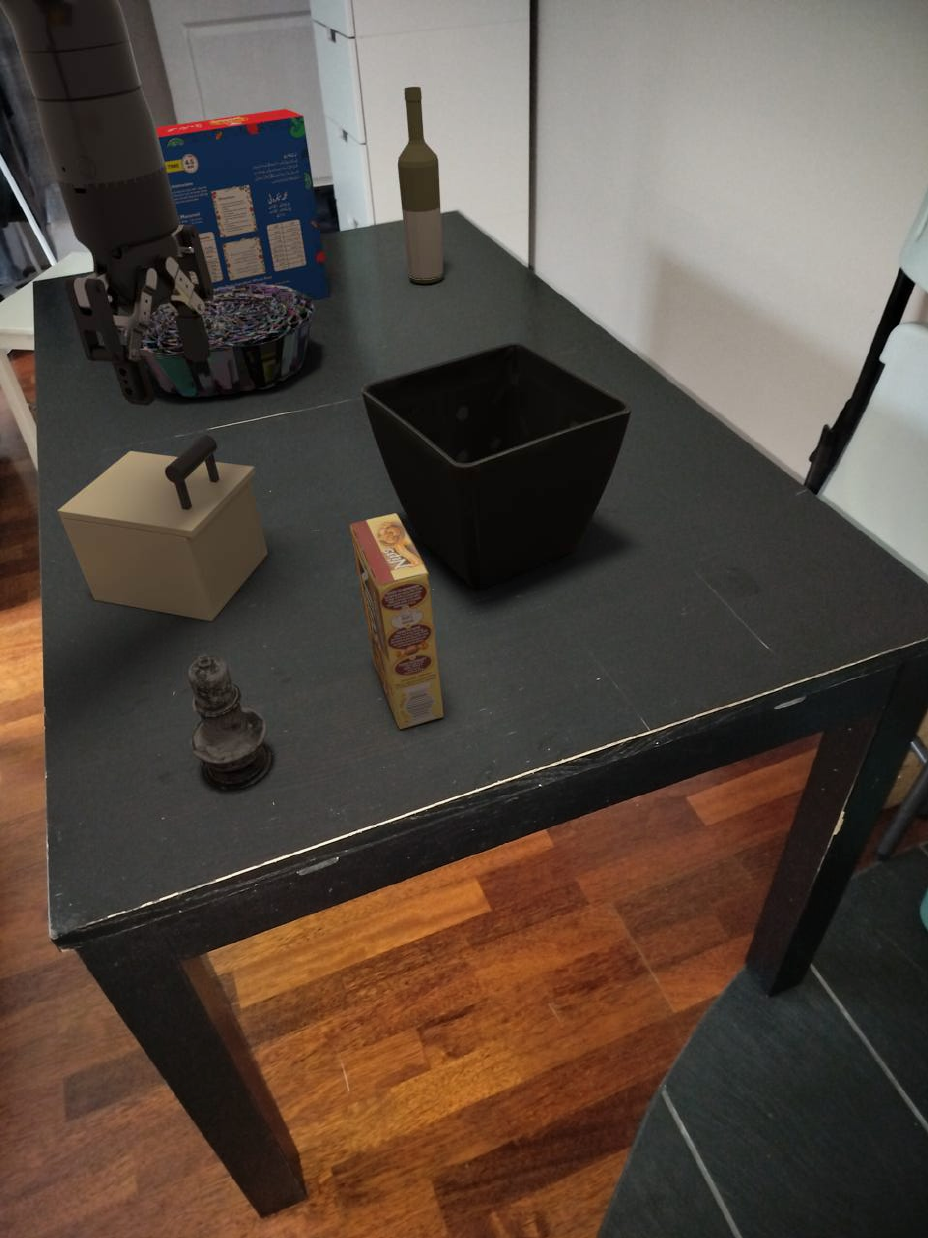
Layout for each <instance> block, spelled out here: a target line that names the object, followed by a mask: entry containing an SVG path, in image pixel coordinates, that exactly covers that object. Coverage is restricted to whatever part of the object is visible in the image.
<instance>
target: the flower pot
mask: <svg viewBox="0 0 928 1238" xmlns="http://www.w3.org/2000/svg"><path fill="white" fill-rule="evenodd" d="M360 389H361V394H362V399H363V402H364V403H363V404H364V406H365V410H366V414H367V418H368V420H369V423H370V427H371V430H372V434H373V437H374V440H375V442H376V445H377V449H378V451H379V454H380V456H381V460H382V462H383V465H384V467H385V470H386V472H387V475H388V477H389V480H390V483H391V484H392V487H393V489H394V491H395V494H396V495H397V498H398V500H399V502H400V504H401V506H402V509H403V511H404V513H405V514H406V517H407V519H408V521H409V523H410V525H411V526H412V528H413V530H414V532H415V534H416V535H417V536H418V538H419V539H421V540H422V541H423V542H424V543H425V544H426V546H428V547H429V548H430V549H431V550H432V551H433V552H434V553H435V554H436V555H437V556H438V557H439V558H441V560H443V561H444V562H445V564H447V565H448V566H449V568H451V569H452V570H453V571H454V572H455V573H456V575H458V576H459V577H460V578H461V579H462V580H463V581H464V582H465V583H466V584H468V586H469V587H471V588H473V589H485V588H487V587H489V586H492V585H495V584H497V583H499V582H501V581H504V580H506V579H509V578H511V577H514V576H516V575H519V574H521V573H524V572H526V571H529V570H531V569H534V568H535V567H538V566H541V565H543V564H545V563H548V562H550V561H553V560H555V559H558V558H560V557H562V556H564V555H567V554H570V553H571V552H573V551H574V550H575V549H576V547H577V546H578V544H579V542H580V540H581V539H582V537H583V536H584V534H585V532H586V530H587V528H588V526H589V524H590V522H591V520H592V518H593V516H594V514H595V512H596V510H597V508H598V506H599V504H600V502H601V500H602V497H603V495H604V493H605V491H606V489H607V486H608V484H609V482H610V479H611V476H612V473H613V471H614V469H615V466H616V463H617V460H618V457H619V454H620V451H621V448H622V445H623V441H624V438H625V435H626V432H627V428H628V425H629V421H630V418H631V414H632V411H633V410H632V409H633V406H632V404H630V403H629V402H628V401H626V400H624V399H622V398H620V397H619V396H617V395H616V394H614V393H612V392H610V391H608V390H606V389H604V388H603V387H601V386H599V385H598V384H596V383H594V382H592V381H590V380H589V379H587V378H585V377H584V376H581V375H580V374H578V373H576V372H575V371H572V370H571V369H569V368H567V367H566V366H564V365H562V364H560V363H559V362H557V361H555V360H553V359H552V358H550V357H548V356H547V355H544V353H541V352H539V351H538V350H536V349H534V348H532V347H530V346H529V345H527V344H525V343H523V342H518V341H514V342H513V341H512V342H507V343H504V344H499V345H497V346H494V347H490V348H487V349H483V350H479V351H476V352H473V353H470V354H466V355H463V356H459V357H456V358H452V359H449V360H446V361H442V362H439V363H435V364H431V365H428V366H424V367H421V368H417V369H414V370H410V371H407V372H403V373H401V374H397V375H394V376H390V377H387V378H383V379H380V380H377V381H373V382H369V383H366V384H364V385H363V386H362V387H361V388H360Z"/></svg>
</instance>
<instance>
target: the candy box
mask: <svg viewBox="0 0 928 1238" xmlns="http://www.w3.org/2000/svg"><path fill="white" fill-rule="evenodd" d="M349 529H350V534H351V535H350V536H351V541H352V542H351V543H352V547H353V552H354V559H355V563H356V569H357V574H358V582H359V586H360V592H361V598H362V604H363V609H364V616H365V621H366V626H367V631H368V636H369V642H370V647H371V654H372V659H373V665H374V667H375V670H376V673H377V675H378V678H379V681H380V684H381V686H382V689H383V693H384V694H385V697H386V699H387V702H388V705H389V707H390V711H391V712H392V714H393V718H394V719H395V722H396V725H397V727H398V729H399V730H404V729H407V728H411V727H414V726H417V725H421V724H424V723H427V722H431V721H434V720H438V719H441V718H444V707H443V706H444V705H443V698H442V697H443V695H442V688H441V679H440V670H439V669H440V668H439V660H438V658H439V657H438V651H437V650H438V649H437V641H436V631H435V630H436V629H435V622H434V621H435V620H434V613H433V603H432V592H431V585H430V584H431V583H430V573H429V571H428V569H427V566H426V565H425V562H424V561H423V559H422V557H421V555H420V553H419V551H418V550H417V548H416V546H415V544H414V541H413V540H412V538H411V537H410V535H409V533H408V532H407V529H406V527H405V525H404V524H403V522H402V520H401V518H400V517H399V515H398V513H395V512H394V513H391V514H387V515H382V516H378V517H373V518H368V519H365V520H360V521H356V522H353V523H350V524H349Z"/></svg>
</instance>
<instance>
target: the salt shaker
mask: <svg viewBox="0 0 928 1238" xmlns="http://www.w3.org/2000/svg"><path fill="white" fill-rule="evenodd" d="M230 673H231V672H230V670H229V667H228V664H227V663H226V661H225V660H224V659H223V658H221V657H219V656H216V655H209V654H207V653H205V652H201V653H200V654H199V655H198V656H197V659H196V660H195V661H194V662H193V663H192V664H191V665H190V667H189V669H188V672H187V674H188V681H189V683H190V687H191V689H192V692H193V695H194V697H193V699H192V709H193V711H194V713H196V714H197V715H198V716H200V718H201V719H200V721H199V722H198V723H197V724H196V725H195V726H194V728H193V730H192V731H191V734H190V738H189V747H190V750H191V751H192V754H193V756H195V757H196V758H197V759H198V760H200V761H202V762H203V764H204V768H203V769H204V777H205V778H206V781H207V782H208V783H209V784H210V785H211V786H213V787H214V788H217V789H219V790H223V791H237V790H241V789H245V788H247V787H249V786H252V785H254V784H256V783H257V782H258V781H260V780H261V779H262V778H263V777H264V776H265V775H266V774H267V772H268V770H269V769H270V767H271V762H272V755H271V751H270V749H269V748H268V746H267V745H265V744H264V742H265V739H266V734H267V723H266V720H265V718H264V717H263V715H262V714H260V713H259V712H258V711H257V710H254V709H252V708H248V707H245V706H244V707H243V706H241V702H240V701H241V698H242V692H241V690H240V687H238V685H236V684H235V683H233V680H232V676H231V674H230Z"/></svg>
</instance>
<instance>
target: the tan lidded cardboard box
mask: <svg viewBox="0 0 928 1238" xmlns="http://www.w3.org/2000/svg"><path fill="white" fill-rule="evenodd" d="M258 510H259V509H258V506H257V502H256V498H255V493H254V490H253V486H252V481H251V479H250V480H249V481H248V482H247V483H246V484H245V485H244V486H243V487H242V488H241V489H240V490H239V491H238V493H237V494H236V495H235V496H234V497H233V498H232V499H231V500H230V501H229V502H228V503H227V504H226V505H225V506H224V507H223V508H222V509H221V510H220V511H219V512H218V513H217V514H216V515H215V516H214V518H213V519H212V520H211V521H210V522H209V523H208V524H207V525H206V526H205V527H204V528H203V529H202V530H201V531H200V532H199V533H198V534H197V535H196V536H195V537H194V538H190V537H184V536H177V535H171V534H165V533H158V532H152V531H145V530H139V529H132V528H126V527H120V526H113V525H107V524H100V523H94V522H88V521H81V520H75V519H68V518H62V517H60V520H61V523H62V525H63V527H64V530H65V532H66V534H67V537H68V539H69V542H70V545H71V546H72V549H73V552H74V555H75V557H76V559H77V562H78V565H79V567H80V569H81V571H82V573H83V576H84V578H85V581H86V583H87V585H88V588H89V590H90V593H91V596H92V598H93V600H94V601H97V602H98V601H99V602H103V603H110V604H115V605H121V606H127V607H131V608H135V609H136V608H137V609H142V610H146V611H147V610H148V611H154V612H158V613H164V614H170V615H176V616H180V617H187V618H191V619H196V620H197V619H198V620H201V621H208V622H214V620H215V618H216V617H217V616H218V615H219V613H220V612H221V611H222V610H223V609H224V608H225V606H226V605H227V604H228V603H229V601H230V600H231V599H232V598H233V597H234V596H235V594H236V593H237V592H238V591H239V589H240V588H241V587H242V586H243V584H245V582H246V581H247V580H248V579H249V577H250V576H251V575H252V573H254V571H255V570H256V569H257V568H258V567H259V565H260V564H261V563H262V561H264V559H265V558H266V557H267V556H268V553H269V552H268V548H267V544H266V539H265V536H264V532H263V528H262V523H261V520H260V514H259V511H258Z"/></svg>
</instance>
